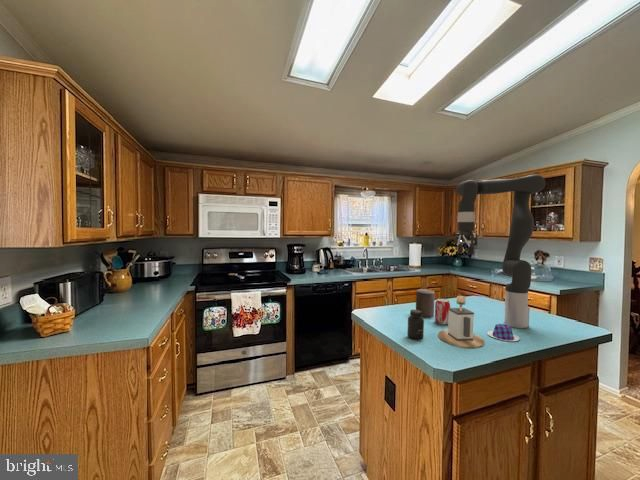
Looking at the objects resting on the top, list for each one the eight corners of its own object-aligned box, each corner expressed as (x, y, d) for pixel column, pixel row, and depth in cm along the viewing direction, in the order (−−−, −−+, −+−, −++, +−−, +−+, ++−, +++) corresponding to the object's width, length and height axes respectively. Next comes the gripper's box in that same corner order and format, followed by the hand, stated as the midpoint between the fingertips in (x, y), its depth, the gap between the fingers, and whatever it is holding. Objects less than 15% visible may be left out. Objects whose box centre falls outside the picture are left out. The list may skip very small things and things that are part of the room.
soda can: (451, 325, 132) (452, 302, 132) (436, 324, 134) (437, 301, 133) (447, 321, 139) (448, 298, 139) (433, 320, 141) (433, 297, 140)
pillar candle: (416, 316, 146) (416, 290, 145) (415, 311, 155) (415, 286, 155) (435, 318, 143) (435, 291, 143) (433, 313, 153) (433, 287, 152)
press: (463, 333, 120) (463, 307, 120) (476, 342, 111) (476, 313, 111) (447, 334, 120) (448, 308, 119) (459, 342, 111) (460, 314, 110)
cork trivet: (466, 330, 126) (466, 329, 126) (494, 347, 108) (494, 345, 108) (430, 331, 125) (430, 330, 125) (452, 348, 107) (452, 346, 107)
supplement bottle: (421, 342, 113) (422, 314, 113) (405, 338, 117) (406, 311, 116) (425, 336, 119) (425, 310, 119) (409, 333, 123) (409, 307, 122)
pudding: (507, 332, 125) (507, 321, 125) (526, 342, 113) (526, 330, 113) (481, 332, 125) (481, 321, 125) (498, 342, 113) (498, 330, 113)
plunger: (462, 328, 119) (463, 295, 118) (469, 333, 114) (470, 298, 113) (451, 329, 119) (452, 295, 118) (458, 333, 114) (459, 298, 113)
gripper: (482, 220, 124) (482, 255, 125) (464, 221, 139) (463, 252, 139) (467, 220, 124) (467, 255, 125) (450, 221, 138) (449, 252, 139)
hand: (465, 253), depth 132 cm, fingers open, 8 cm apart
